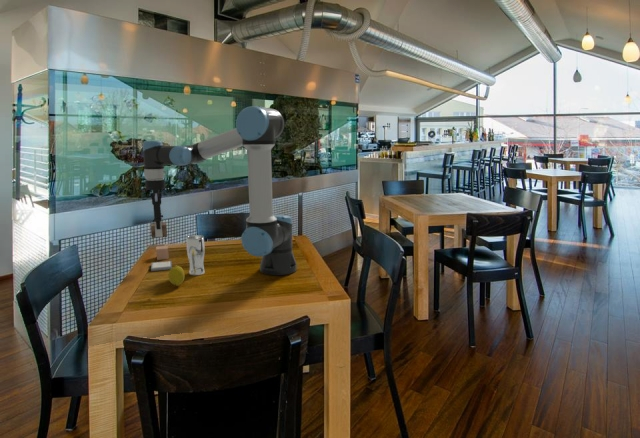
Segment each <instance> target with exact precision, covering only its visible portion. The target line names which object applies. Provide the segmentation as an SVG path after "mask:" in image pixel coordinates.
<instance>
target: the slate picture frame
mask: <svg viewBox="0 0 640 438" xmlns="http://www.w3.org/2000/svg"><path fill="white" fill-rule="evenodd" d="M150 264H151V266H150V272H156V271H157V272H158V271H166V270H167V271H168V270H169V271H170V269H171V268H172V267H173V266H172V260H168V261H165V260H164V261H156V262H155V261H154V262H151V263H150Z"/></svg>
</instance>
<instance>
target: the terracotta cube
mask: <svg viewBox="0 0 640 438" xmlns="http://www.w3.org/2000/svg"><path fill="white" fill-rule="evenodd" d="M155 252H156V253H155V254H156V260H157V261H165V260H169V259H170V255H169V246H168V245H162V246H161V245H160V246H156V247H155Z"/></svg>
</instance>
